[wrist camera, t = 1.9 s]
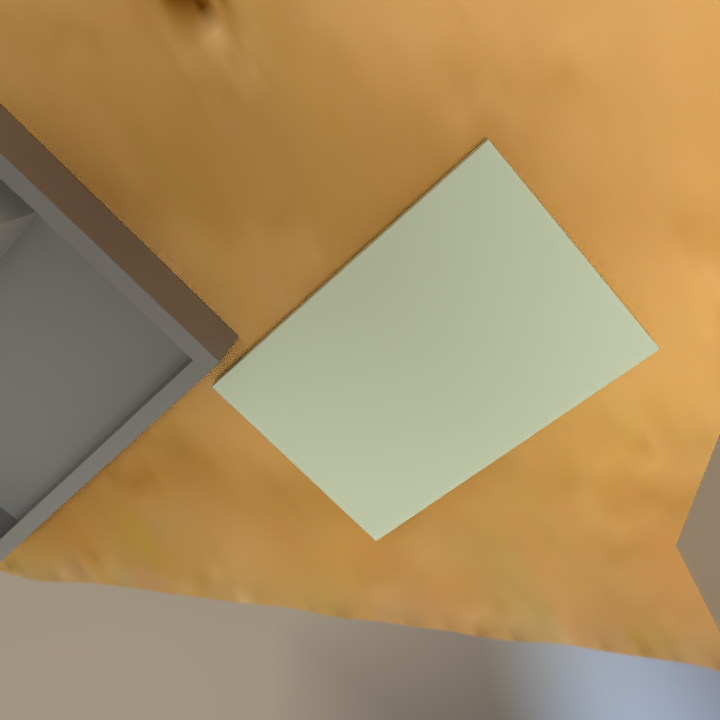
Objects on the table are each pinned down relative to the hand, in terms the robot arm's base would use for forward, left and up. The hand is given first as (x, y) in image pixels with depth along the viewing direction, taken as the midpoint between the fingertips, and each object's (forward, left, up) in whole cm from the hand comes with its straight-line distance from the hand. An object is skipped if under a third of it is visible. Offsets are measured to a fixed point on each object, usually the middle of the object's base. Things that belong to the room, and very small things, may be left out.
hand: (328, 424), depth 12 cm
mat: (+8, -5, -24) cm, 26 cm away
